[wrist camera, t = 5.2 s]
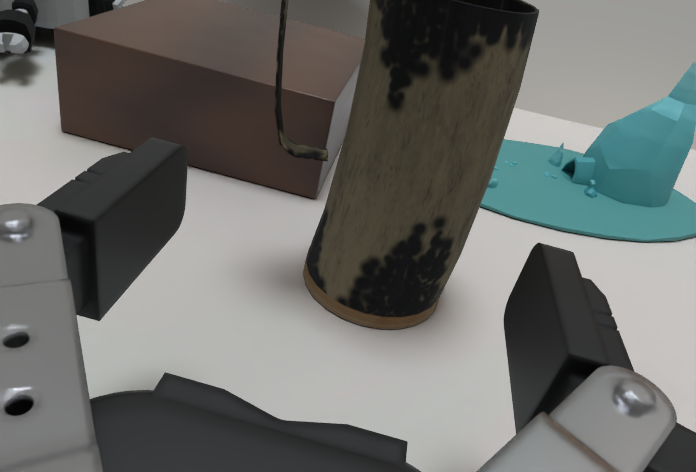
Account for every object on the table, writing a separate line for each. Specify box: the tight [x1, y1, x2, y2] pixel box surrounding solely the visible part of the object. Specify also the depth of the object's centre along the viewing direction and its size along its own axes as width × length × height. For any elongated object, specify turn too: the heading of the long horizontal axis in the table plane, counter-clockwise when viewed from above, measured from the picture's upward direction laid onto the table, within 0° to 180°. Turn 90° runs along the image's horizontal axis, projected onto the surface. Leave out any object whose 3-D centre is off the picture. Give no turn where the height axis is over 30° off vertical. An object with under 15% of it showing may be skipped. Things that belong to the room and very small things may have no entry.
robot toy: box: [0, 0, 126, 54], centre depth 35 cm, size 12×4×15 cm
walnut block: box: [54, 0, 365, 199], centre depth 31 cm, size 13×13×5 cm
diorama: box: [480, 62, 696, 242], centre depth 32 cm, size 12×20×9 cm, turn 95°
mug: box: [275, 0, 539, 329], centre depth 19 cm, size 8×6×12 cm
